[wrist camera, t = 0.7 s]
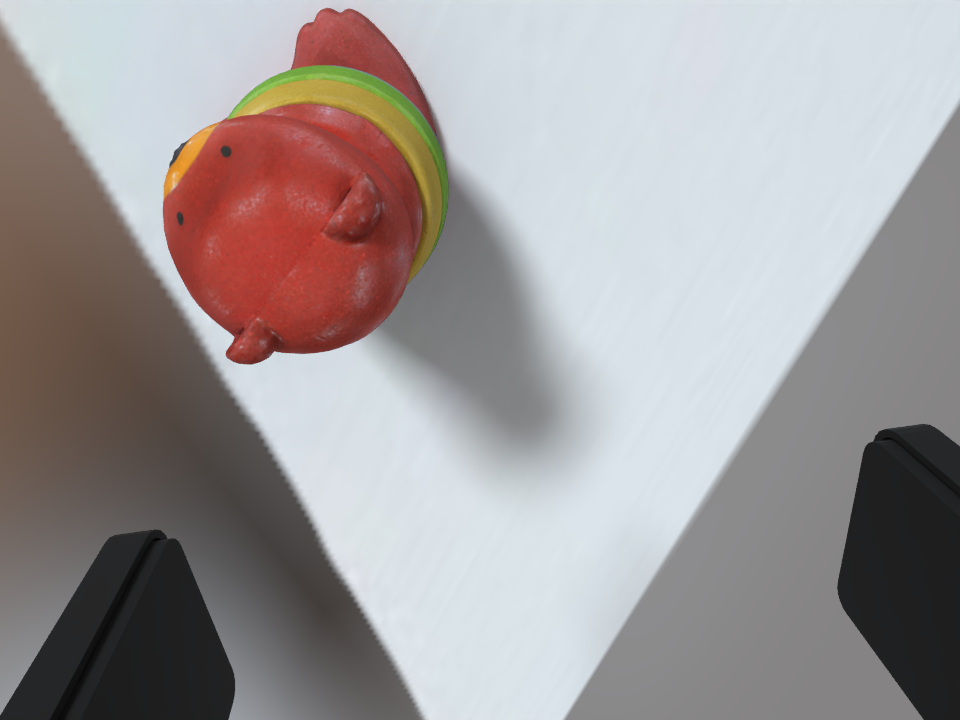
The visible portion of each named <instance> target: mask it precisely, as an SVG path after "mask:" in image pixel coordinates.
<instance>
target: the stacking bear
mask: <svg viewBox="0 0 960 720" xmlns="http://www.w3.org/2000/svg"><path fill="white" fill-rule="evenodd" d="M448 191H449V190H448V177H447V170H446V164H445V161H444V156H443V153H442V150H441V147H440V145H439V142H438V140H437V137H436V131H435V127H434V124H433V120H432V117H431V113H430V111H429V108H428V105H427V102H426V100H425V97H424V95H423V93H422V91H421V89H420V86H419V84H418V82H417V81H416V79H415V77H414V75H413V73H412V72H411V70H410V68H409V67H408V65H407V64H406V62H405V61H404V59H403V58H402V56H401V55H400V53H399V52H398V50H397V49H396V48H395V47H394V46H393V44H392V43H391V42H390V41H389V40H388V39H387V37H386V36H385V35H384V34H383V33H382V32H381V31H380V30H379V29H378V28H377V27H376V26H375V25H374V24H373V23H372V22H371V21H370V20H369V19H368V18H366V17H365V16H364V15H362V14H361V13H359V12H357V11H355V10H353V9H346V10H344V11H343V12H342V13H339V12H337V11H335V10H333V9H331V8H325V9H322V10H321V11H320V12H319V13H318V14H317V16H316V18H315V20H314V22H311V23H307V24H305V25H303V27H302V28H301V30H300V31H299V33H298V37H297V42H296V49H295V56H294V61H293V65H292V68H291V70H289V71H286V72H283V73H281V74H278V75H276V76H274V77H271V78H270V79H268V80H266V81H264V82H263V83H261V84H260V85H258V86H257V87H256V88H254V89H253V90H252V91H251V92H249V93H248V94H247V95H246V96H245V97H244V98H243V99H242V100H241V101H240V103H239V104H238V105H237V106H236V107H235V108H234V110H233V111H232V113H231V114H230V115H229V117H228V118H226V119H224V120H223V121H221V122H218V123H215V124H213V125H210V126H208V127H206V128H204V129H203V130H201V131H199V132H198V133H196V134H195V135H194V136H193V137H191V138H190V139H189V140H188V141H187V142H185V143H182V144H181V145H180V147H179V148H178V149H177V150H175V152H174V155H173V159H172V161H171V162H170V167H169V170H168V173H167V175H166V179H165V183H164V202H163V219H164V231H165V236H166V240H167V245H168V248H169V251H170V254H171V256H172V259H173V261H174V264H175V266H176V268H177V271H178V273H179V274H180V276H181V278H182V280H183V282H184V284H185V286H186V288H187V289H188V291H189V293H190V295H191V296H192V298H193V299H194V300H195V301H196V303H197V304H198V305H199V306H200V307H201V308H202V309H203V310H204V312H205V313H207V314H208V315H209V316H210V317H211V318H212V319H213V320H214V321H215V322H217V323H218V324H219V325H220V326H222V327H223V328H224V329H225V330H227V331H228V332H230V333H231V334H232V335H233V336H234V337H235V338H234V341H233V343H232V344H231V346H230V347H229V348H228V350H227V351H226V357H227V358H228V359H230V360H232V361H233V362H236V363H239V364H255V363H258V362H261V361H263V360H265V359H267V358H269V357H270V356H271V355H272V353H273V352H274V351H276V352H282V353H297V354H308V353H319V352H325V351H330V350H334V349H337V348H340V347H342V346H345V345H348V344H351V343H353V342H356V341H358V340H360V339H362V338H364V337H365V336H367V335H368V334H369V333H371V332H372V331H373V330H374V329H376V328H377V327H378V326H379V325H380V324H381V323H382V322H383V321H384V320H385V319H386V318H387V317H388V316H389V315H390V313H391V312H392V311H393V309H394V308H395V307H396V305H397V303H398V301H399V300H400V298H401V296H402V294H403V292H404V290H405V287H406V285H407V284H408V283H409V282H410V281H411V279H412V278H413V277H414V276H415V275H416V274H417V273H418V271H419V270H420V269H421V268H422V266H423V265H424V264H425V262H426V261H427V260H428V258H429V257H430V255H431V253H432V252H433V250H434V248H435V246H436V244H437V242H438V239H439V237H440V234H441V232H442V229H443V226H444V222H445V217H446V212H447V206H448Z"/></svg>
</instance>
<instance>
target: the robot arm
mask: <svg viewBox="0 0 960 720" xmlns="http://www.w3.org/2000/svg"><path fill="white" fill-rule="evenodd" d="M837 589H838V595H839V599H840V602H841V604H842V606H843V608H844V610H845V612H846V613H847V615H848V616H849V618H850V619H851V620H852V621H853V623H854V624H855V626H856V627H857V629H858V630H859V631H860V633H861V634H862V635H863V637H864V638H865V639H866V641H867V642H868V644H869V645H870V646H871V648H872V649H873V650H874V652H875V653H876V655H877V656H878V657H879V659H880V660H881V661H882V663H883V664H884V666H885V667H886V668H887V670H888V671H889V672H890V674H891V675H892V677H893V678H894V679H895V681H896V682H897V683H898V685H899V686H900V687H901V689H902V690H903V692H904V693H905V694H906V696H907V697H908V699H909V700H910V701H911V703H912V704H913V705H914V707H915V708H916V709H917V711H918V712H919V714H920V715H921V716H922V718H923V719H924V720H960V446H959V445H957V444H956V443H955V442H953V441H952V440H951V439H950V438H948V437H947V436H946V435H944V434H943V433H942V432H941V431H939V430H938V429H936V428H935V427H933V426H931V425H926V424H920V425H913V426H905V427H898V428H891V429H884V430H882V431H879V432H878V434H877V435H876V436H875V439H874V441H873V442H871V443H868V444H867V445H866V447H865V449H864V452H863V457H862V463H861V468H860V473H859V478H858V483H857V488H856V493H855V498H854V503H853V508H852V513H851V518H850V524H849V528H848V533H847V539H846V544H845V549H844V554H843V559H842V564H841V569H840V574H839V579H838V587H837ZM234 695H235V678H234V673H233V670H232V667H231V665H230V663H229V660H228V658H227V655H226V653H225V650H224V648H223V645H222V643H221V641H220V639H219V636H218V633H217V631H216V629H215V626H214V624H213V621H212V619H211V616H210V614H209V612H208V609H207V607H206V604H205V602H204V600H203V597H202V595H201V593H200V590H199V588H198V585H197V583H196V580H195V578H194V576H193V573H192V571H191V569H190V566H189V564H188V561H187V559H186V556H185V554H184V551H183V549H182V547H181V545H180V543H179V541H177V540H176V539H167V537H166V535H165V534H164V533H163V532H162V531H161V530H149V531H141V532H134V533H127V534H120V535H114V536H112V537H110V538H109V539H108V540H107V541H106V543H105V544H104V546H103V547H102V549H101V550H100V552H99V554H98V556H97V557H96V559H95V560H94V562H93V564H92V565H91V567H90V569H89V570H88V572H87V574H86V575H85V577H84V578H83V580H82V582H81V584H80V585H79V587H78V588H77V590H76V592H75V593H74V595H73V597H72V598H71V600H70V602H69V603H68V605H67V607H66V608H65V610H64V612H63V613H62V615H61V617H60V618H59V620H58V622H57V623H56V625H55V626H54V628H53V630H52V631H51V633H50V635H49V636H48V638H47V639H46V641H45V643H44V645H43V646H42V648H41V649H40V651H39V653H38V654H37V656H36V658H35V659H34V661H33V662H32V664H31V666H30V667H29V669H28V671H27V672H26V674H25V676H24V677H23V679H22V681H21V682H20V684H19V686H18V687H17V689H16V690H15V692H14V694H13V696H12V697H11V699H10V700H9V702H8V704H7V705H6V707H5V709H4V710H3V712H2V714H1V715H0V720H228V719H229V715H230V712H231V708H232V704H233V700H234Z"/></svg>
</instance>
